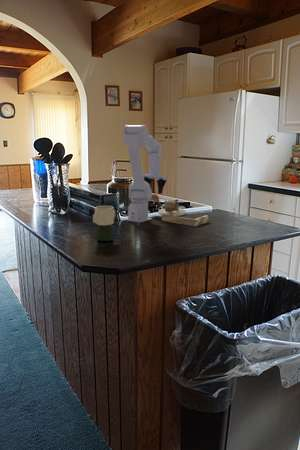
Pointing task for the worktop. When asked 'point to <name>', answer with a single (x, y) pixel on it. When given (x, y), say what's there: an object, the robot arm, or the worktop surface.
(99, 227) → the character mug
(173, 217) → the wooden u-shaped frame
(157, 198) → the lion figurine
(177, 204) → the walnut block
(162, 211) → the ceramic plate
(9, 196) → the worktop surface
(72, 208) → the worktop surface
